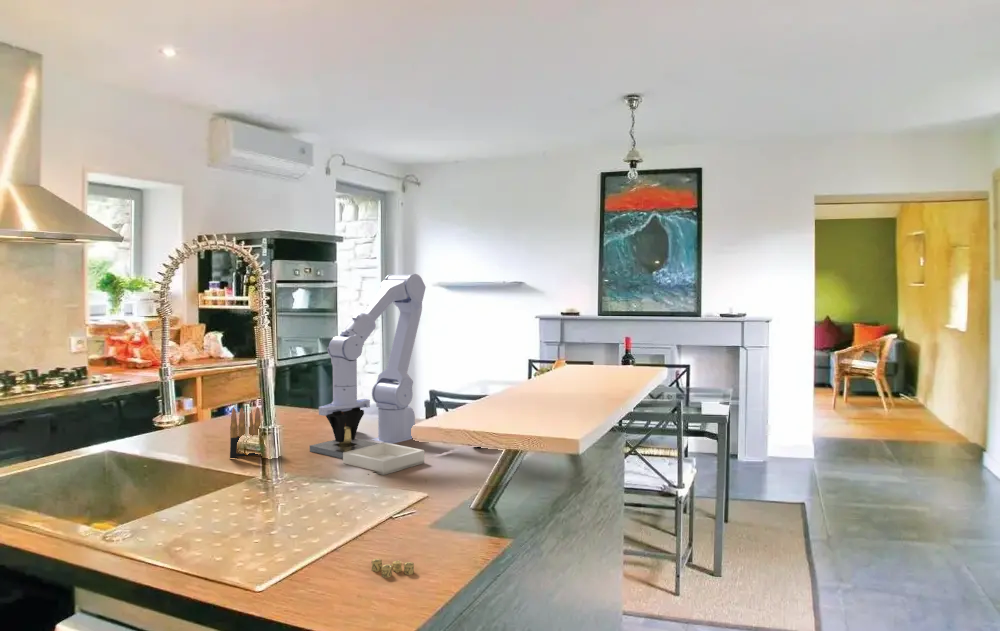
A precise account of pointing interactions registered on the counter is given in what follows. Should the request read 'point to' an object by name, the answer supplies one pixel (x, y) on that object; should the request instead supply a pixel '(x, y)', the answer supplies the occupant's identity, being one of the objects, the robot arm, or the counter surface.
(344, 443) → the gold upright block
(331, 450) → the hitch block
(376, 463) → the tray
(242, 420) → the ammunition clip
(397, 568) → the dice set
